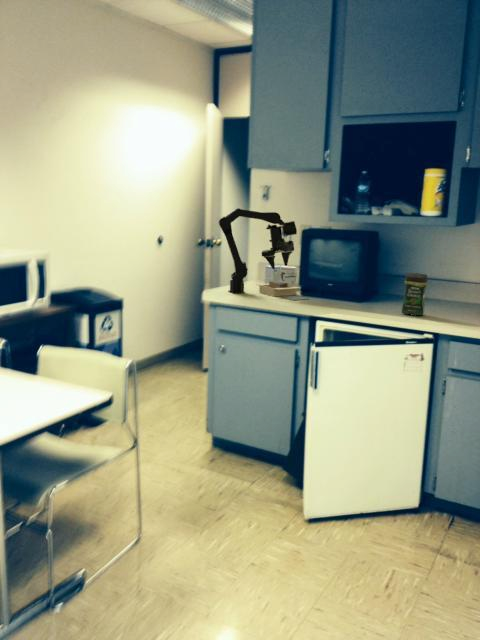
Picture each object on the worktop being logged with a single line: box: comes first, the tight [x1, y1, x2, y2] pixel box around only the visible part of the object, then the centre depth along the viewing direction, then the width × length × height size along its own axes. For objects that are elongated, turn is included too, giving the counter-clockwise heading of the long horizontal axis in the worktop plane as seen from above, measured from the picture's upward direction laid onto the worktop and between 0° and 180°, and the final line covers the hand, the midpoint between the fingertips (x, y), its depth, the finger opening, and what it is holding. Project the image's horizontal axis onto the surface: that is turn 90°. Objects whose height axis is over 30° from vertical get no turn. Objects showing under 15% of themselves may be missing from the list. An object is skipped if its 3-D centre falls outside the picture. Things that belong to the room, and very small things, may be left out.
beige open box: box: [256, 283, 300, 297], centre depth 320 cm, size 15×18×4 cm
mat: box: [281, 295, 310, 302], centre depth 307 cm, size 10×9×1 cm
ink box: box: [280, 265, 298, 287], centre depth 341 cm, size 9×5×12 cm, turn 73°
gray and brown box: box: [269, 281, 288, 288], centre depth 320 cm, size 5×9×6 cm, turn 34°
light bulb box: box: [264, 264, 283, 284], centre depth 352 cm, size 11×7×11 cm, turn 136°
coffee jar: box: [401, 272, 428, 316], centre depth 275 cm, size 10×8×19 cm
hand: (279, 267), depth 319 cm, fingers open, 9 cm apart
